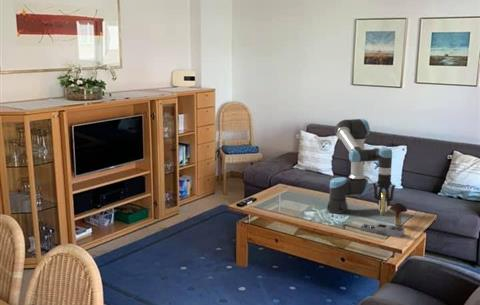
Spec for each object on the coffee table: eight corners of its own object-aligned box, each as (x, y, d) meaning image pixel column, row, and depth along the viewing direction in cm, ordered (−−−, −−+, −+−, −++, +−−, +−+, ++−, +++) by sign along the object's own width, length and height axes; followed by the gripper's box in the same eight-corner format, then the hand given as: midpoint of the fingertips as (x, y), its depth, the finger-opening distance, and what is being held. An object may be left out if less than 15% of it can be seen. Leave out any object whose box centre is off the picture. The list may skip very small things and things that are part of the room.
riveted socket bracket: (360, 230, 313) (360, 223, 312) (364, 226, 319) (364, 220, 318) (400, 237, 300) (401, 230, 299) (404, 234, 306) (404, 227, 305)
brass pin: (378, 215, 306) (379, 192, 304) (380, 213, 310) (381, 190, 307) (385, 216, 304) (386, 193, 301) (387, 214, 308) (388, 191, 305)
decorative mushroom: (386, 222, 326) (387, 201, 323) (402, 222, 327) (403, 200, 324) (392, 228, 315) (393, 206, 312) (409, 228, 316) (410, 205, 313)
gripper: (369, 173, 303) (368, 210, 308) (396, 176, 295) (394, 214, 299) (373, 170, 310) (372, 206, 314) (400, 173, 301) (398, 210, 305)
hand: (383, 210), depth 307 cm, fingers closed on brass pin, 3 cm apart
